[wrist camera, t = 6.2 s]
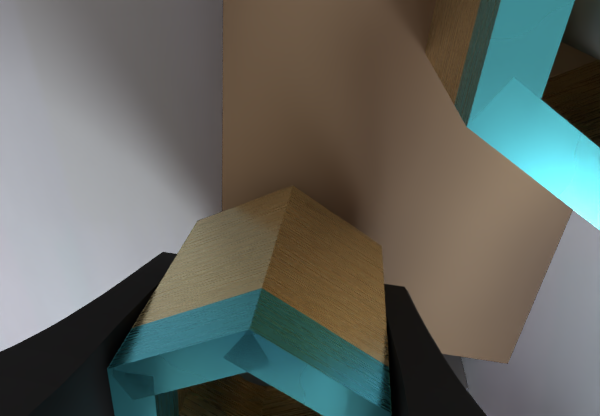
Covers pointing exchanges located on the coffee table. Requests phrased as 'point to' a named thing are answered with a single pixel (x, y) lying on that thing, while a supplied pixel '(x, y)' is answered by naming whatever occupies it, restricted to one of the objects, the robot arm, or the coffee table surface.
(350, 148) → the pin board
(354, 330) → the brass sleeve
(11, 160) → the coffee table surface
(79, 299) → the coffee table surface
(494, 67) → the seated sleeve
